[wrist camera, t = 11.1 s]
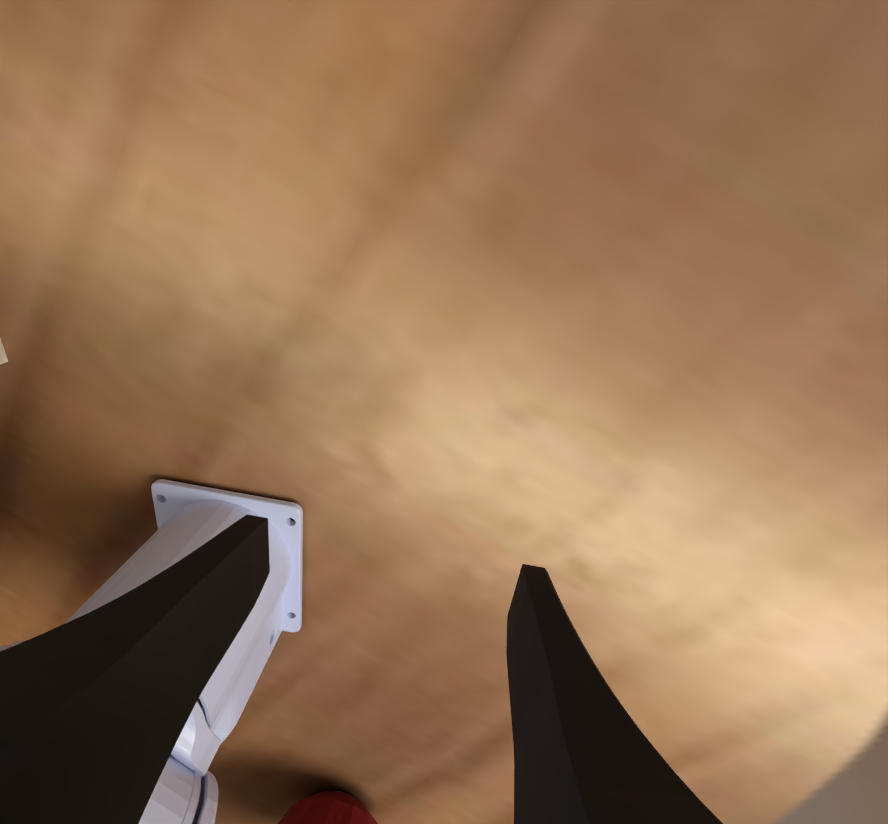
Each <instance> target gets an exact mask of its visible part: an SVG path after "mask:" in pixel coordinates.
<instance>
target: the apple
mask: <svg viewBox="0 0 888 824" xmlns="http://www.w3.org/2000/svg"><path fill="white" fill-rule="evenodd" d="M278 824H378V823H377V822H376V821H375V820H374V818H373V817H372V816H371V814H370V813H369V812H368V810H367V809H366V808H365V807H364V805H363V804H362V803H361V802H360V801H359V800H357V799H356V798H354V797H353V796H351V795H349V794H347V793H344V792H341V791H324V792H319V793H317V794H314V795H312V796H309V797H307V798H304V799H301V800H299V801H298V802H297V803H296V804H295V805H293V806H292V807H291V808H290V809H289V810H288V812H287V813H286V814H285V815H284V817H283V818H282V819H281V821H280V822H279V823H278Z"/></svg>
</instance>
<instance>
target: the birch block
mask: <svg viewBox="0 0 888 824" xmlns="http://www.w3.org/2000/svg"><path fill="white" fill-rule="evenodd" d="M6 362H8V360H7V357H6V354H5V351H4V348H3V344H2V341H1V338H0V364H3V363H6Z"/></svg>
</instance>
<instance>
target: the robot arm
mask: <svg viewBox="0 0 888 824" xmlns="http://www.w3.org/2000/svg"><path fill="white" fill-rule="evenodd" d="M151 491H152V497H153V503H154V509H155V515H156V521H157V527H158V530H157V531H156V532H155V533H154V534H153V535H152V536H151V537H150V538H149V539H148V540H147V541H146V542H145V543H144V544H143V545H142V546H141V547H140V548H139V549H138V550H137V551H136V552H135V553H134V554H133V555H132V556H131V557H130V558H129V559H128V560H127V561H126V562H125V563H124V564H123V565H122V566H121V567H120V568H119V569H118V570H117V571H116V572H115V573H114V574H113V575H112V576H111V577H110V578H109V579H108V580H107V581H106V582H105V583H104V584H103V585H102V586H101V587H100V588H99V589H98V590H97V591H96V592H95V593H94V594H93V595H92V596H91V597H90V598H89V599H88V600H87V601H86V602H85V603H84V604H83V605H82V606H81V607H80V608H79V609H78V610H77V611H76V612H75V613H74V614H73V615H72V616H71V617H70V618H69V619H68V620H67V621H66V622H65V623H64V624H63V625H61V626H59V627H57V628H55V629H52V630H50V631H48V632H46V633H44V634H41V635H39V636H37V637H34V638H32V639H30V640H27V641H25V642H24V641H17V642H14V643H13V644H11V645H3V646H0V824H215V816H216V811H217V805H218V783H217V781H216V779H215V777H214V775H213V774H212V773H210V772H209V771H208V768H209V766H210V764H211V762H212V760H213V758H214V756H215V754H216V752H217V750H218V748H219V746H220V744H221V743H222V742H223V741H224V740H225V739H226V738H227V737H228V735H229V734H230V733H231V731H232V730H233V728H234V727H235V725H236V724H237V722H238V720H239V718H240V716H241V714H242V712H243V710H244V707H245V705H246V703H247V701H248V699H249V697H250V695H251V693H252V691H253V689H254V687H255V685H256V683H257V681H258V679H259V677H260V675H261V673H262V670H263V668H264V666H265V664H266V662H267V660H268V658H269V656H270V654H271V652H272V650H273V648H274V646H275V644H276V642H277V640H278V638H279V635H280V633H281V631H282V630H283V631H288V632H297V631H299V629H300V627H301V625H302V538H303V511H302V508H301V507H300V506H299V505H298V504H296V503H293V502H287V501H282V500H276V499H271V498H265V497H259V496H254V495H248V494H243V493H237V492H232V491H226V490H220V489H215V488H209V487H204V486H198V485H192V484H187V483H181V482H176V481H170V480H164V479H159V480H157V481H155V482H154V483H153V484H152V486H151ZM162 495H163V496H164V497H163V496H162ZM290 518H292V519H294V520H295V521H292V520H291V519H290ZM507 667H508V680H509V692H510V704H511V716H512V729H513V741H514V763H515V768H514V824H723V823H722V822H721V821H720V820H719V819H718V818H717V817H716V816H715V815H714V814H713V813H712V812H711V811H710V810H709V809H708V808H707V807H706V806H705V805H704V804H703V803H702V802H701V801H700V800H699V799H698V798H697V797H696V796H695V794H694V793H693V792H692V791H691V790H690V789H689V788H688V787H687V786H686V784H685V783H684V782H683V781H682V780H681V779H680V778H679V777H678V776H677V774H676V773H675V772H674V771H673V770H672V769H671V767H670V766H669V765H668V764H667V763H666V761H665V760H664V759H663V758H662V756H661V755H660V754H659V753H658V752H657V750H656V749H655V748H654V747H653V745H652V744H651V743H650V742H649V741H648V739H647V738H646V737H645V736H644V734H643V733H642V732H641V731H640V729H639V728H638V727H637V725H636V724H635V723H634V721H633V720H632V719H631V717H630V716H629V714H628V713H627V712H626V710H625V709H624V708H623V706H622V705H621V703H620V702H619V700H618V699H617V698H616V696H615V695H614V693H613V692H612V690H611V689H610V687H609V686H608V684H607V683H606V681H605V680H604V678H603V676H602V675H601V673H600V672H599V670H598V668H597V667H596V665H595V664H594V662H593V660H592V659H591V657H590V655H589V654H588V652H587V650H586V648H585V647H584V645H583V643H582V641H581V639H580V638H579V636H578V634H577V632H576V630H575V628H574V627H573V625H572V623H571V621H570V619H569V617H568V615H567V613H566V611H565V609H564V607H563V605H562V603H561V601H560V599H559V597H558V595H557V592H556V590H555V588H554V586H553V584H552V581H551V579H550V577H549V574H548V572H547V571H546V569H545V568H542V567H536V566H531V565H525V564H522V568H521V571H520V575H519V578H518V582H517V585H516V589H515V592H514V596H513V599H512V602H511V606H510V609H509V613H508V619H507Z"/></svg>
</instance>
